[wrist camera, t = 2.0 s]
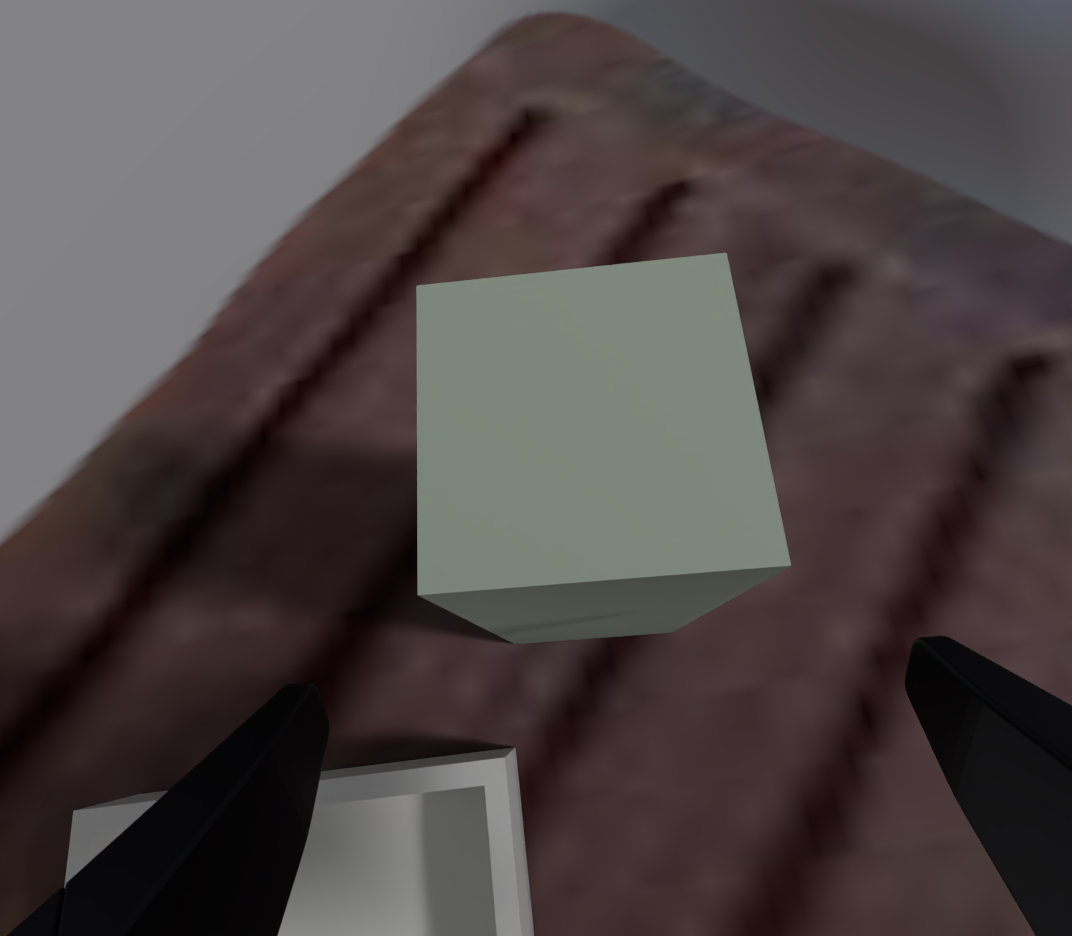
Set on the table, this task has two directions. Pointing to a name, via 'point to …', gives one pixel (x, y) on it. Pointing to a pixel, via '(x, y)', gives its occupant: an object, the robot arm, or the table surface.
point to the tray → (389, 849)
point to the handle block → (590, 451)
